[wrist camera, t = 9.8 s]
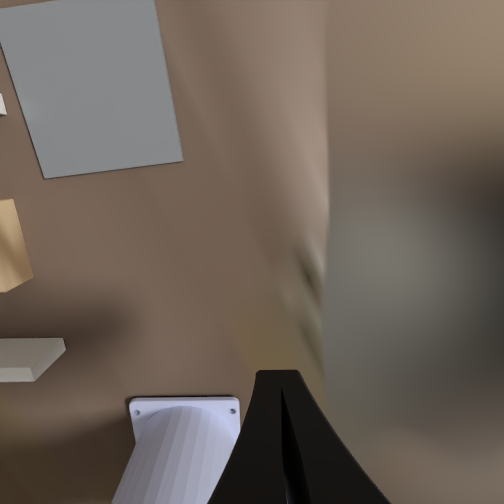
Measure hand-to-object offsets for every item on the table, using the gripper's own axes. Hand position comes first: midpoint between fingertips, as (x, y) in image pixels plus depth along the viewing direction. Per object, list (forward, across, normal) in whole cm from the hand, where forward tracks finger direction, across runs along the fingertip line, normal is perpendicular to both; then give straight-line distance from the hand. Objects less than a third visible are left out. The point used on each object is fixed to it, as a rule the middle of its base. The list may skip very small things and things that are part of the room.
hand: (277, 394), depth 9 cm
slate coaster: (+10, +9, -11) cm, 17 cm away
